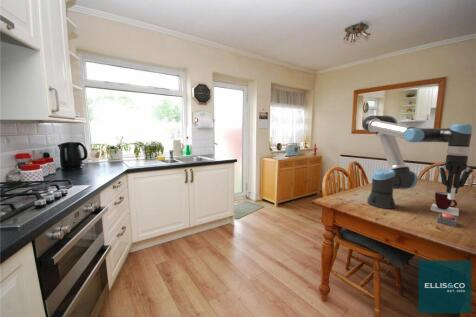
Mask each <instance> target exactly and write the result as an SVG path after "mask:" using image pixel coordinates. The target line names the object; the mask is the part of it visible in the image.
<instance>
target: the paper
mask: <svg viewBox="0 0 476 317" xmlns="http://www.w3.org/2000/svg"><path fill="white" fill-rule="evenodd" d="M429 209H430V211H433V212H438V213H440V214H442V213H449V214H452V215H454V217H455V216H456V217H459V214H460V208H457V207H449V208H448V209H446V210H444V209H439V208H438V207H437V205H436V203H432V205H431V207H430V208H429Z"/></svg>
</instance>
